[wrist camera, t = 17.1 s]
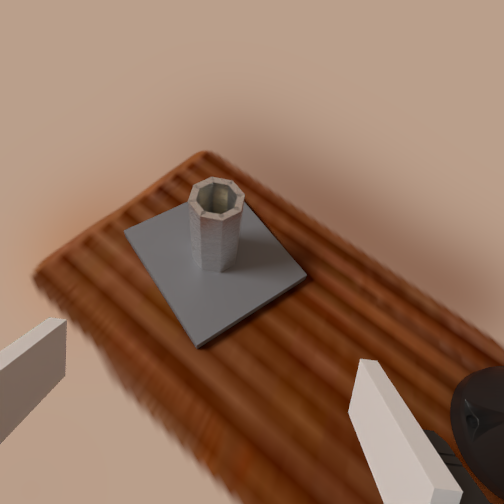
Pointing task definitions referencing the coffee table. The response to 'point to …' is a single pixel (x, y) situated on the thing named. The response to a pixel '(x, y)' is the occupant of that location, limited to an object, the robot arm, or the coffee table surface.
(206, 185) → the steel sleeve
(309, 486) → the coffee table surface
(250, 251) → the post plate
